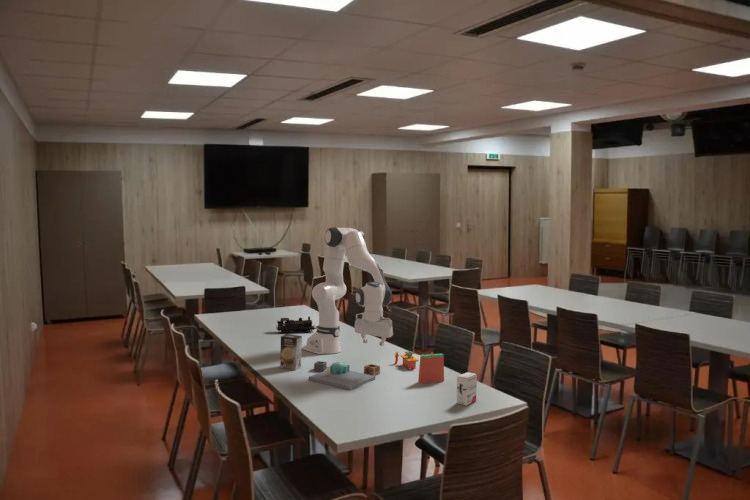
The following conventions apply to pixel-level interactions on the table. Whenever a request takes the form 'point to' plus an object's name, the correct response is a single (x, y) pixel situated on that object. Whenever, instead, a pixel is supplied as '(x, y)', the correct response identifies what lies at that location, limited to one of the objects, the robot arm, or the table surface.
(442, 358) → the toy building block set
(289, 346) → the coffee box
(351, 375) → the gear board
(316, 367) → the dark gray block
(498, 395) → the table surface
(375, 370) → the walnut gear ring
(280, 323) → the toy train
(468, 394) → the ink box
